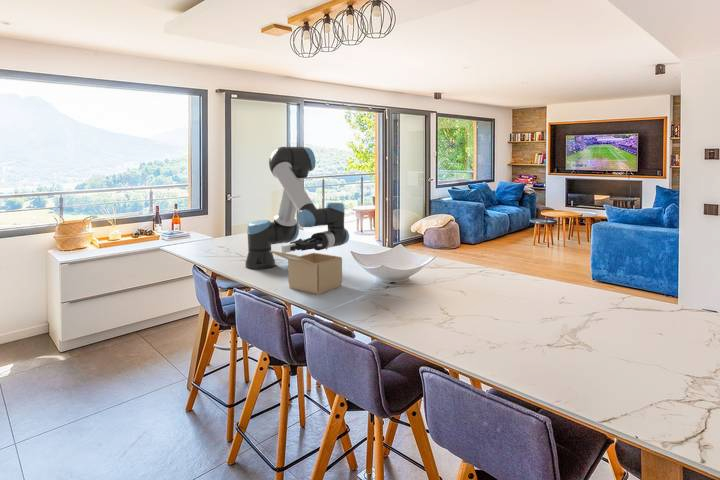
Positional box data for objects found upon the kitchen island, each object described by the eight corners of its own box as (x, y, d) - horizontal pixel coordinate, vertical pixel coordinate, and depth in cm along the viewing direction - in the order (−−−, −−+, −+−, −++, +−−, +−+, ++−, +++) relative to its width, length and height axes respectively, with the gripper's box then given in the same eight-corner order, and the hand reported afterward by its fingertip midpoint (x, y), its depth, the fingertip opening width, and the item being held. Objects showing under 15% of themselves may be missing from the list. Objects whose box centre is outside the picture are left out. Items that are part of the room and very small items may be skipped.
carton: (287, 287, 206) (287, 258, 203) (314, 279, 219) (313, 252, 217) (318, 295, 195) (318, 264, 193) (344, 285, 208) (344, 257, 206)
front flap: (288, 259, 202) (269, 251, 192) (288, 258, 202) (269, 250, 192) (314, 264, 193) (295, 256, 184) (314, 263, 193) (295, 255, 184)
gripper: (333, 250, 203) (295, 260, 184) (311, 247, 211) (271, 256, 192) (333, 233, 202) (294, 241, 183) (310, 230, 209) (271, 238, 190)
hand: (283, 249), depth 187 cm, fingers closed
